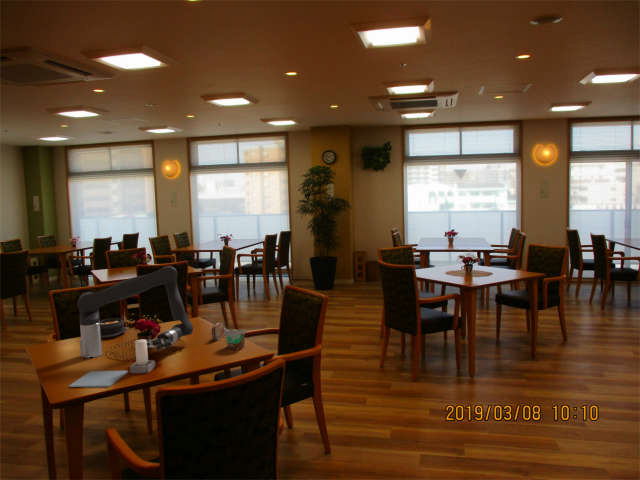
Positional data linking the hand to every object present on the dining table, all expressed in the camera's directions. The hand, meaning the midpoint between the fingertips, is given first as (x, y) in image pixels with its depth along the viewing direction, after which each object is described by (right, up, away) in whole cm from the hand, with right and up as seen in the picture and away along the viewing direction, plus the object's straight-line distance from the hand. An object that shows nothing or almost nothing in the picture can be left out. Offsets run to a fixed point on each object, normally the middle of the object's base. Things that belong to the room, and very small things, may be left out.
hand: (149, 347), depth 241 cm
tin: (+25, -4, +43) cm, 50 cm away
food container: (+37, -5, +22) cm, 43 cm away
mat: (-17, -11, -17) cm, 26 cm away
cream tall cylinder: (-1, -9, -6) cm, 11 cm away
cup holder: (-1, -9, -6) cm, 11 cm away
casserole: (-44, -5, +60) cm, 75 cm away
